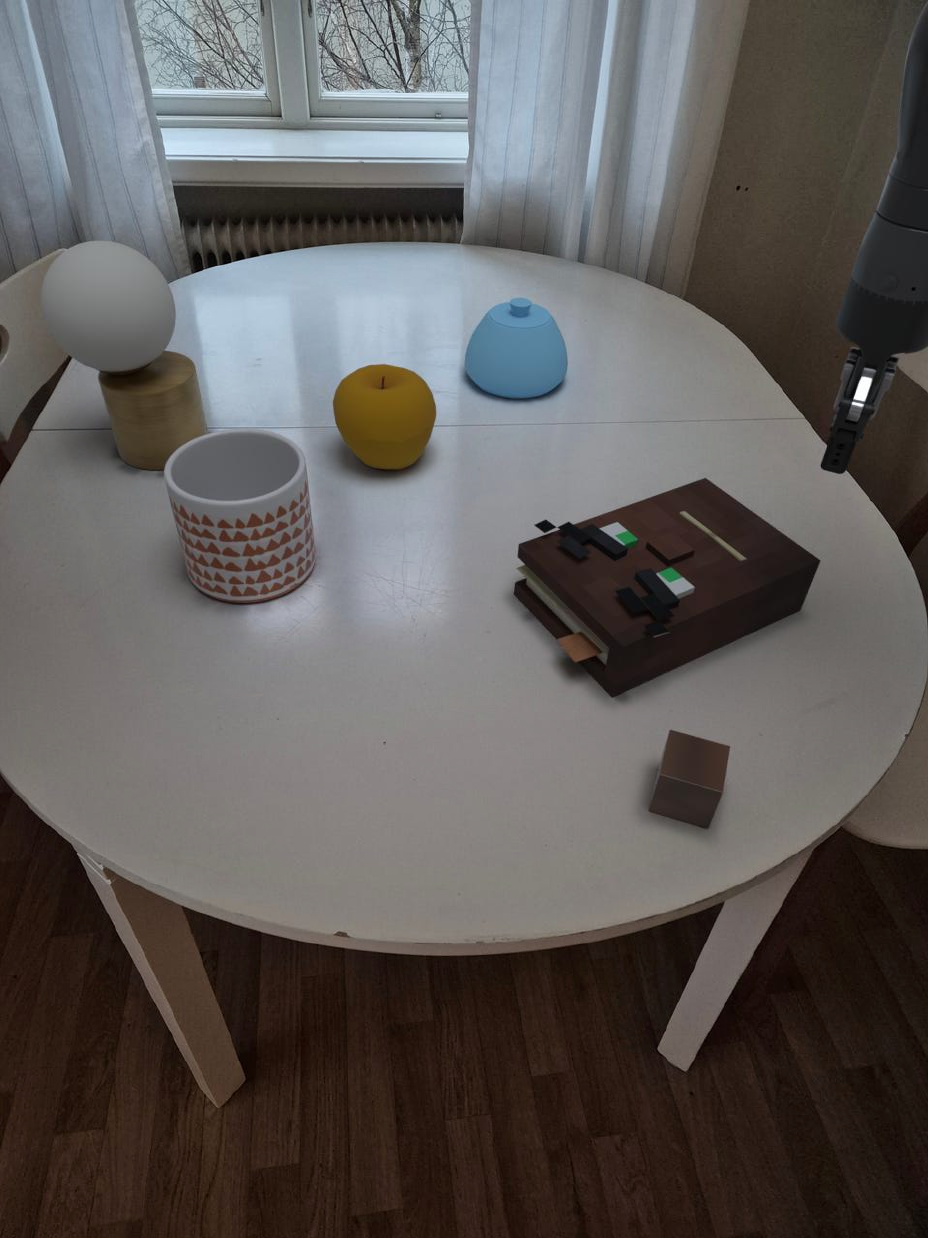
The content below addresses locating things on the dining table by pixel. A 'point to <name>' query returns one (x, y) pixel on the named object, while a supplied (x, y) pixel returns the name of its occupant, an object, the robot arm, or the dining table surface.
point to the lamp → (126, 347)
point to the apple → (385, 415)
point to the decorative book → (661, 582)
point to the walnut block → (690, 779)
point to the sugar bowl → (517, 351)
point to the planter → (242, 513)
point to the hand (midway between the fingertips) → (832, 467)
